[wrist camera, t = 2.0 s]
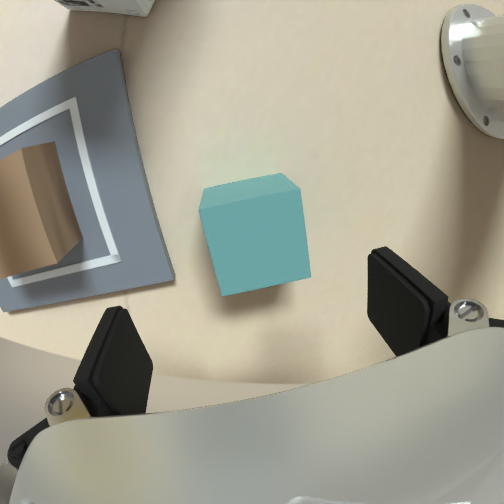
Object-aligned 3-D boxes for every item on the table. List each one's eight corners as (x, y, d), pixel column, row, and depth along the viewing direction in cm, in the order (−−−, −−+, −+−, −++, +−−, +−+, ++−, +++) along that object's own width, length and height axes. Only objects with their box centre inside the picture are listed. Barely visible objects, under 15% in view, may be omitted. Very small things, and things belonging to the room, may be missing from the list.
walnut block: (54, 141, 16) (21, 148, 12) (83, 237, 18) (57, 263, 15) (-10, 175, 15) (-43, 188, 12) (17, 257, 18) (-10, 281, 15)
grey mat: (119, 51, 14) (115, 48, 14) (175, 274, 21) (173, 280, 20) (-48, 147, 14) (-54, 149, 13) (7, 307, 21) (2, 312, 20)
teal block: (281, 172, 19) (300, 188, 14) (292, 243, 21) (311, 277, 16) (204, 188, 19) (198, 209, 14) (221, 257, 21) (221, 296, 16)
